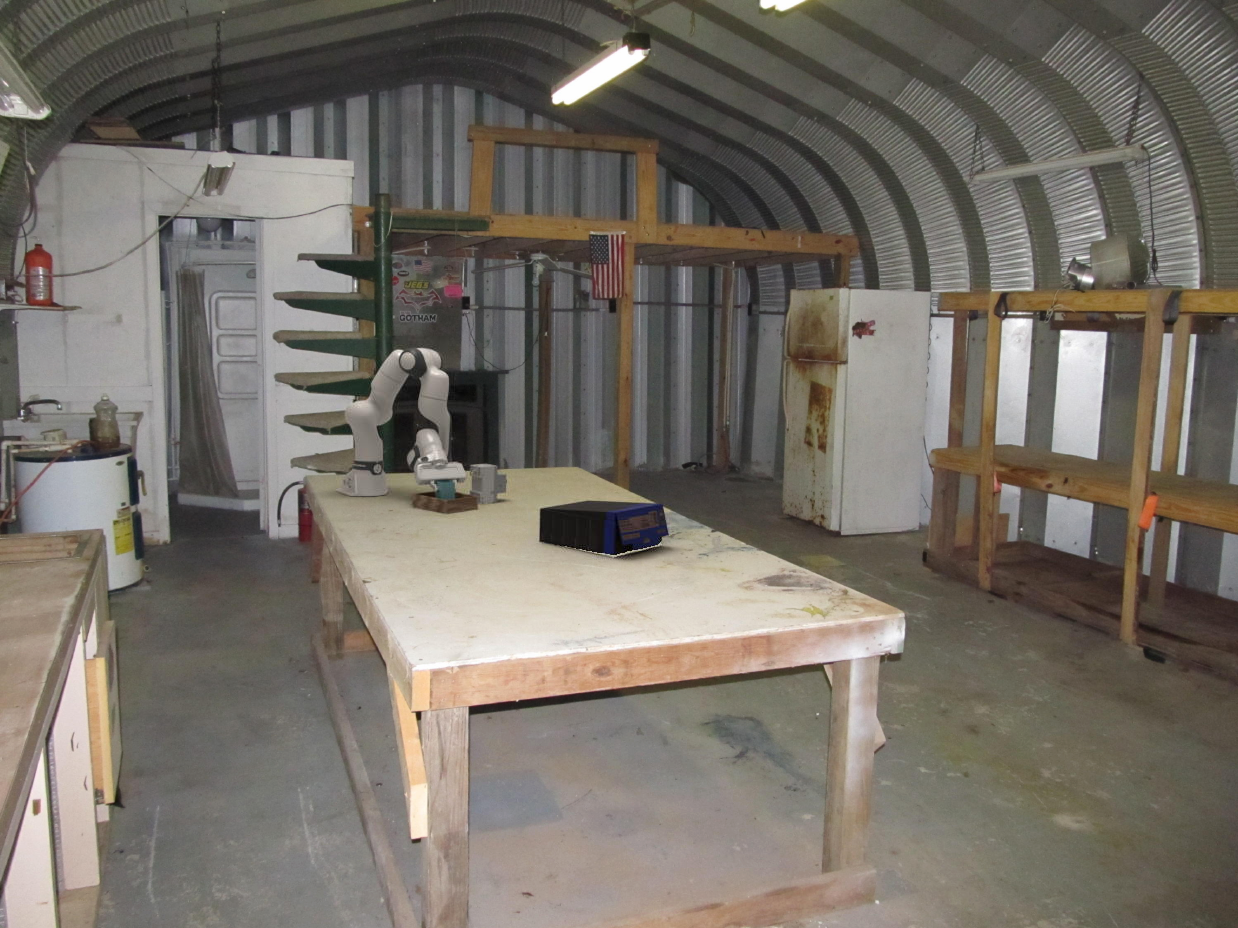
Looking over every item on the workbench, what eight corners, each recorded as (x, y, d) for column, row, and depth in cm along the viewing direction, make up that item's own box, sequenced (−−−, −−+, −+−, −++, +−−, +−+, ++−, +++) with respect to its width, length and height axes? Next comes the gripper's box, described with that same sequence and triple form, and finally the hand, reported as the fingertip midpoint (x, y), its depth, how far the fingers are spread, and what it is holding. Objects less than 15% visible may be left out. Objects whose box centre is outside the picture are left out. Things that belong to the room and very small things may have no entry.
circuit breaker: (509, 501, 382) (509, 464, 380) (480, 504, 372) (480, 467, 370) (498, 498, 387) (498, 462, 385) (469, 501, 378) (469, 464, 376)
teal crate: (435, 501, 363) (435, 481, 362) (449, 500, 366) (449, 480, 365) (441, 503, 358) (441, 483, 357) (454, 502, 361) (455, 482, 360)
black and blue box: (621, 560, 285) (623, 513, 283) (538, 542, 307) (539, 499, 305) (669, 548, 304) (671, 504, 302) (588, 532, 326) (589, 491, 324)
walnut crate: (412, 506, 362) (412, 493, 362) (444, 502, 375) (444, 489, 374) (445, 513, 350) (445, 500, 349) (478, 508, 362) (478, 496, 361)
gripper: (458, 466, 375) (468, 494, 369) (409, 468, 364) (418, 497, 358) (463, 456, 371) (473, 484, 364) (413, 458, 360) (423, 487, 353)
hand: (445, 491), depth 361 cm, fingers closed on teal crate, 5 cm apart
